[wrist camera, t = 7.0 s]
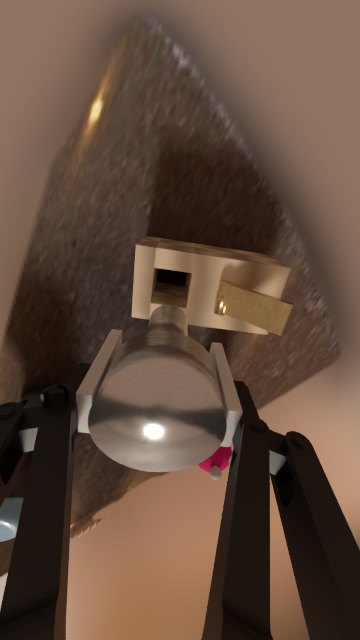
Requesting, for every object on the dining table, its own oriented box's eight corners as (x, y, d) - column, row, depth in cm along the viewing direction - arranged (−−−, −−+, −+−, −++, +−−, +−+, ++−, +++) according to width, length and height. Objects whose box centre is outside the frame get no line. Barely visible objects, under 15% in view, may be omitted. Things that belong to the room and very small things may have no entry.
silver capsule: (130, 347, 23) (89, 466, 13) (135, 282, 21) (85, 366, 10) (196, 355, 24) (210, 477, 13) (210, 293, 21) (242, 384, 10)
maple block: (142, 293, 42) (131, 317, 33) (146, 235, 38) (135, 244, 29) (249, 308, 43) (267, 334, 34) (265, 254, 39) (290, 268, 30)
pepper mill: (190, 368, 49) (197, 460, 31) (223, 373, 50) (248, 466, 32) (184, 393, 52) (186, 490, 34) (215, 397, 53) (233, 495, 35)
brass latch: (216, 309, 33) (211, 312, 31) (223, 279, 31) (218, 281, 30) (282, 334, 28) (278, 339, 27) (294, 301, 27) (292, 304, 25)
